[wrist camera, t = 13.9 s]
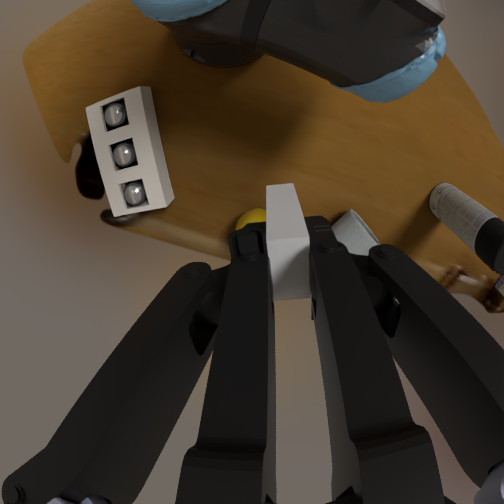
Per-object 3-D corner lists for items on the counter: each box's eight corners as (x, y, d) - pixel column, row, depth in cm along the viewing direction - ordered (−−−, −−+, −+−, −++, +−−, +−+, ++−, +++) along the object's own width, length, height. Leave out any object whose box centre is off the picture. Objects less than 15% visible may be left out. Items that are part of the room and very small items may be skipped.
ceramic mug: (310, 235, 46) (318, 260, 39) (345, 201, 42) (359, 222, 36) (349, 268, 49) (360, 295, 43) (381, 239, 46) (397, 263, 39)
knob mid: (122, 142, 38) (109, 147, 35) (140, 137, 38) (129, 141, 34) (126, 163, 40) (115, 169, 37) (145, 158, 40) (134, 164, 36)
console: (98, 105, 35) (85, 107, 32) (150, 86, 34) (139, 86, 31) (124, 207, 45) (114, 216, 41) (174, 198, 44) (166, 207, 40)
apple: (279, 202, 43) (282, 223, 36) (275, 237, 46) (276, 263, 40) (239, 198, 43) (233, 218, 36) (237, 234, 46) (232, 259, 40)
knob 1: (114, 106, 35) (101, 108, 32) (133, 99, 35) (120, 100, 31) (118, 126, 37) (105, 129, 33) (137, 120, 37) (125, 122, 33)
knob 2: (131, 179, 42) (119, 186, 38) (149, 174, 41) (139, 182, 38) (136, 198, 43) (126, 207, 40) (154, 195, 43) (145, 204, 40)
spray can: (446, 220, 42) (507, 281, 25) (422, 209, 42) (486, 272, 25) (459, 189, 39) (529, 241, 22) (436, 176, 38) (510, 227, 21)
